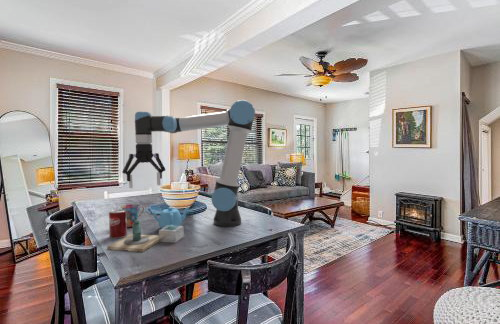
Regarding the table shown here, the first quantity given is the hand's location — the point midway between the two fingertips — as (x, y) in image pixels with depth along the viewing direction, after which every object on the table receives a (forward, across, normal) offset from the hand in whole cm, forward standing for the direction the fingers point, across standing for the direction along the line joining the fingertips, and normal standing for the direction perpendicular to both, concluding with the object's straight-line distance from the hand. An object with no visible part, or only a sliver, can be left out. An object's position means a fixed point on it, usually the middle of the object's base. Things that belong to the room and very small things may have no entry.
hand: (145, 186), depth 134 cm
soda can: (+22, +14, +1) cm, 26 cm away
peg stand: (+22, +10, +17) cm, 29 cm away
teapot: (+22, -11, +6) cm, 26 cm away
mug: (+22, +2, -13) cm, 26 cm away
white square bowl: (+22, -4, +21) cm, 31 cm away
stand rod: (+22, -4, +21) cm, 31 cm away
